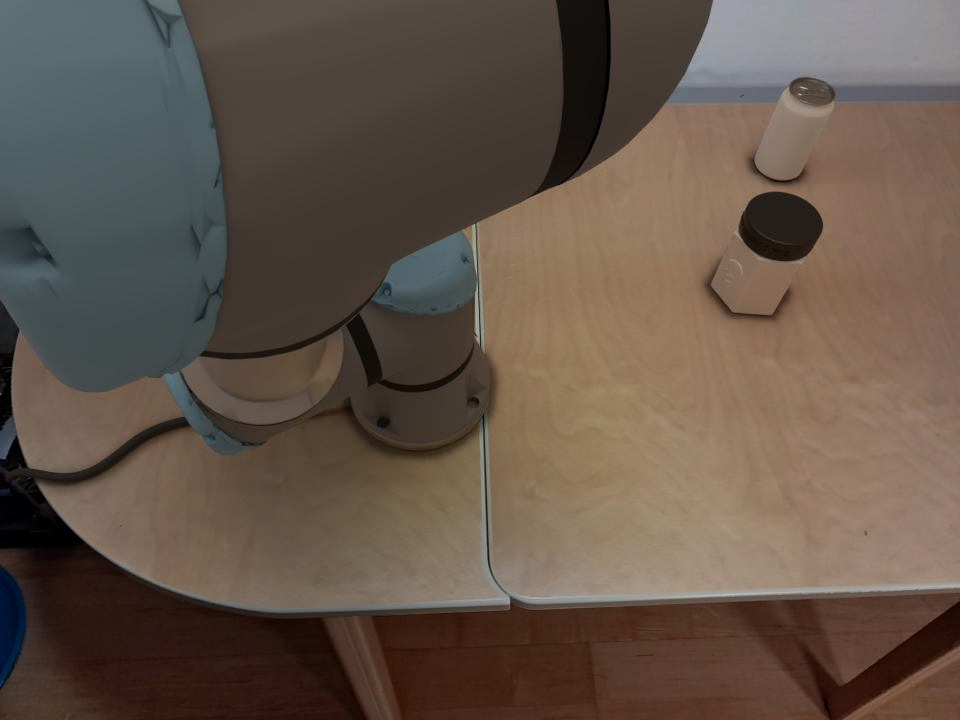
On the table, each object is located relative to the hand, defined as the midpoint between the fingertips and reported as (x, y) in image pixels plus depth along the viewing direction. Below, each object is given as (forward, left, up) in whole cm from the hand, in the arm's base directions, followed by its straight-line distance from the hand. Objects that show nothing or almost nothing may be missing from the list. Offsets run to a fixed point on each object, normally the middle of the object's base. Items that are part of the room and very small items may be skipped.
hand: (151, 156), depth 71 cm
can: (+77, -1, -17) cm, 79 cm away
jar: (+63, -20, -17) cm, 68 cm away
